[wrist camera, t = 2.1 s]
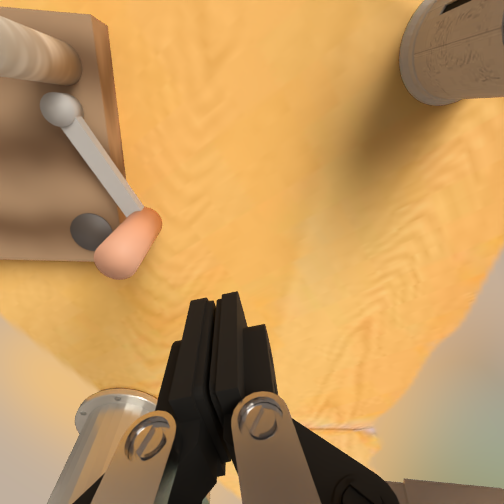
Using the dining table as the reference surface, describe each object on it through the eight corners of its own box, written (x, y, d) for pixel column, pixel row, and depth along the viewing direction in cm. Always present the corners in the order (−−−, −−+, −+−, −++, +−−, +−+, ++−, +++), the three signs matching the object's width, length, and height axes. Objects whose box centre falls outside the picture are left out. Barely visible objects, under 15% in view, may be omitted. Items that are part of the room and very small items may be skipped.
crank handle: (169, 227, 27) (146, 268, 20) (143, 241, 27) (112, 285, 20) (73, 85, 22) (-3, 73, 15) (42, 104, 22) (-45, 102, 15)
